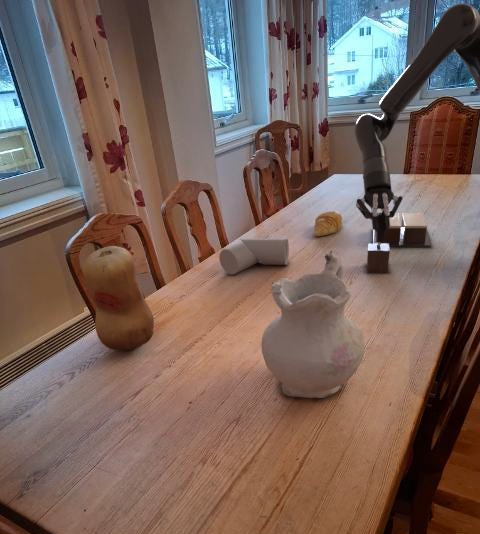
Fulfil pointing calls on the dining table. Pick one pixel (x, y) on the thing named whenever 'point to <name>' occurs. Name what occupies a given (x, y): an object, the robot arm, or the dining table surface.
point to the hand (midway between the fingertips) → (381, 230)
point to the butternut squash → (118, 299)
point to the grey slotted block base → (406, 231)
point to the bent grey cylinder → (254, 254)
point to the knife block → (378, 258)
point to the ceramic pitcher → (313, 334)
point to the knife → (380, 228)
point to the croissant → (327, 223)
